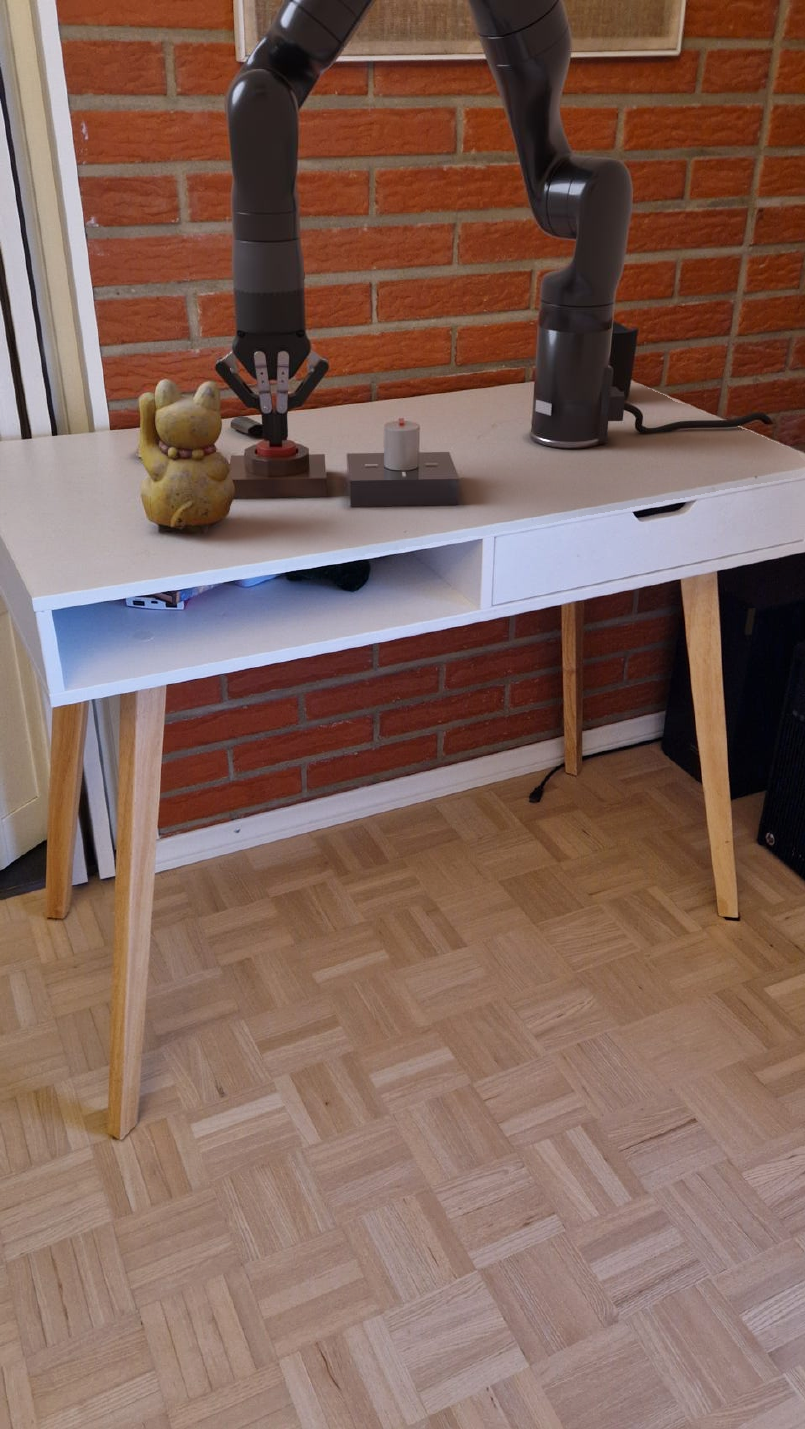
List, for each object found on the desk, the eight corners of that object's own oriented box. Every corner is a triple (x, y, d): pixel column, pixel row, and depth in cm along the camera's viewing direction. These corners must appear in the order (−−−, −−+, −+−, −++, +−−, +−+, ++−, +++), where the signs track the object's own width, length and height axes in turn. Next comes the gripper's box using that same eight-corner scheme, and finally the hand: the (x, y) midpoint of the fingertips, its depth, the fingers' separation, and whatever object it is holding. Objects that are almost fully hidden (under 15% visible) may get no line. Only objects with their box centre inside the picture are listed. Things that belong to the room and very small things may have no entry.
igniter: (325, 472, 140) (324, 439, 138) (326, 497, 132) (326, 462, 130) (231, 473, 139) (229, 440, 138) (228, 498, 132) (225, 463, 130)
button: (296, 453, 137) (295, 438, 136) (296, 464, 133) (295, 449, 132) (258, 453, 136) (257, 438, 135) (257, 465, 132) (256, 450, 132)
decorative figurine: (236, 513, 128) (228, 372, 120) (236, 540, 121) (227, 392, 113) (146, 515, 127) (131, 374, 119) (140, 543, 119) (124, 395, 112)
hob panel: (448, 476, 139) (449, 450, 138) (458, 505, 130) (459, 477, 129) (346, 478, 138) (346, 452, 137) (350, 507, 130) (349, 479, 128)
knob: (420, 470, 131) (420, 428, 129) (384, 470, 131) (384, 428, 129) (418, 459, 135) (418, 418, 132) (383, 460, 135) (383, 418, 132)
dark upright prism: (564, 403, 168) (570, 331, 164) (567, 387, 177) (572, 318, 172) (631, 407, 167) (638, 334, 162) (631, 390, 175) (638, 321, 170)
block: (247, 440, 151) (246, 426, 150) (227, 429, 156) (226, 415, 155) (272, 436, 153) (272, 422, 152) (252, 425, 157) (251, 411, 157)
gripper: (203, 289, 121) (215, 455, 130) (332, 289, 122) (335, 453, 131) (208, 277, 128) (218, 435, 136) (330, 277, 129) (333, 434, 137)
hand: (276, 443), depth 133 cm, fingers closed
